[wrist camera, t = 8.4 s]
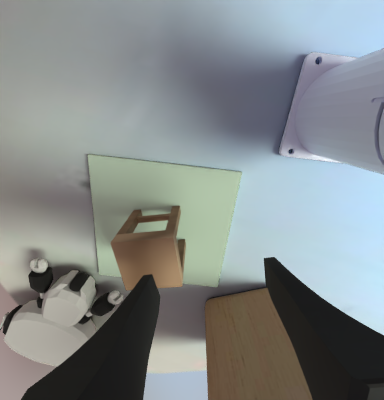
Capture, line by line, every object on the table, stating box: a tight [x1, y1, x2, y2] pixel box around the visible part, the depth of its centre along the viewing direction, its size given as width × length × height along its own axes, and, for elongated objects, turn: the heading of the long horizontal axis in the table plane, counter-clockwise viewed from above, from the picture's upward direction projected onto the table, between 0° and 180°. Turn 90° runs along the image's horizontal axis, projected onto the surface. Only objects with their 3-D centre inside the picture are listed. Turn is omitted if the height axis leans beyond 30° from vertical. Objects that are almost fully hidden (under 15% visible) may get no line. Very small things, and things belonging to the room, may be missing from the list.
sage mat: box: [88, 154, 242, 287], centre depth 22 cm, size 15×15×1 cm
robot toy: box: [0, 258, 123, 366], centre depth 25 cm, size 12×4×15 cm
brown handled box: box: [110, 206, 186, 290], centre depth 19 cm, size 5×5×6 cm
